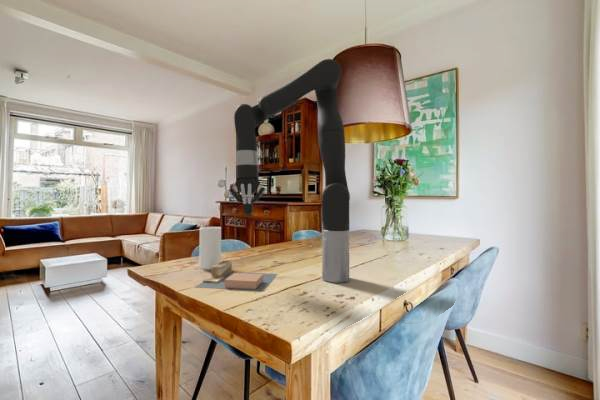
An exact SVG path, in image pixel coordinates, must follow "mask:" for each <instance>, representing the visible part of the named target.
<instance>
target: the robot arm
mask: <svg viewBox="0 0 600 400" xmlns="http://www.w3.org/2000/svg"><path fill="white" fill-rule="evenodd" d="M341 68H342V67H341V65H340V64H339V63H338V61H336V60H335V59H332V58H326V59H323V60H321V61H319V62H318V63H316V64H315V65H314V66H313V67H311V68H310V69H309V70H307V71H305V72H304V73H303V74H301V75H300V76H298V77H297V78H295V79H294V80H292V81H290V82H289V83H287V84H285V85H283V86H282V87H279V88H278V89H275V90H274V91H271V92H269V93H268V94H265V95H264V96H262V97H261V98H259V100H258V102H257V104H254V105H253V106H251V105H250V104H248V103H247V104H246V103H242V104H240V105H238V106H237V107H236V108H235V110H234V116H233V118H234V119H233V121H234V128H235V134H236V136H235V137H236V146H235V147H236V156H235V172H236V173H235V174H236V175H235V177H236V180H235V184H234V186H232V187H231V188H229V192H230V193H231V194H232V196H233V197H234V199H236V201H237V202H238V203H241V204H243V205H242V206H243V213H244V214H245V216H249V215H251V216H252V214H253V212H254V207H253V205H254V203H257V202H258V201H259V200H260V199H261V198H262V196H263V194H264V193H265V192H266V190H267V189H266V187H265V186H262V185H261V182H260V179H259V156H258V155H259V154H258V140H257V136H256V128H257V127H259V125H262V124H263V123H265V121H267V120H268V119H269V118H271V117H273V116H275V115H277V114H279V113H281V112H283V111H284V110H287V109H288V108H289V107H291V106H292V105H293V104H295V103H297V102H298V101H299V100H300V99H302V98H303V97H304V96H306V95H307V94H309V93H311V92H313V91H314V93H315V98H316V103H317V104H316V105H317V138H318V147H319V152H320V158H321V161H322V165H323V170H324V180H325V183H324V184H325V185H324V186H325V187H324V189H323V191H322V194H321V222H322V252H321V253H322V255H321V256H322V258H321V260H322V261H321V263H322V264H321V265H322V266H321V269H322V271H321V278H322V280H323V281H325V282H329V283H335V284H336V283H337V284H339V283H349V282H350V200H351V194H350V191H349V186H348V181H347V176H346V175H347V174H346V138H345V127H344V123H343V120H342V115H341V113H340V110H339V105H338V85H339V81H340V80H341V75H342V69H341ZM256 191H257V193H256ZM238 192H240V193H241V195H240V194H239V193H238ZM255 193H256V194H255ZM254 194H255V195H254Z"/></svg>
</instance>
